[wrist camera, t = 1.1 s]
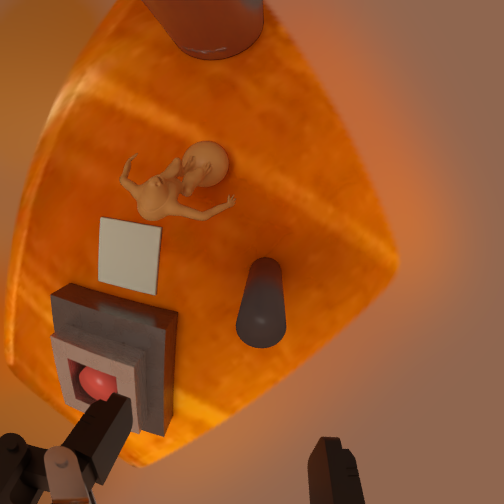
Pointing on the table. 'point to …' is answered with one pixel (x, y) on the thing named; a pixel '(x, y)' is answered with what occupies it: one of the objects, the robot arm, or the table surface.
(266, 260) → the dark grey cylinder
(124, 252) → the pad
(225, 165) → the figurine
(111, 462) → the robot arm
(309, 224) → the table surface
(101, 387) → the button
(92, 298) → the box
